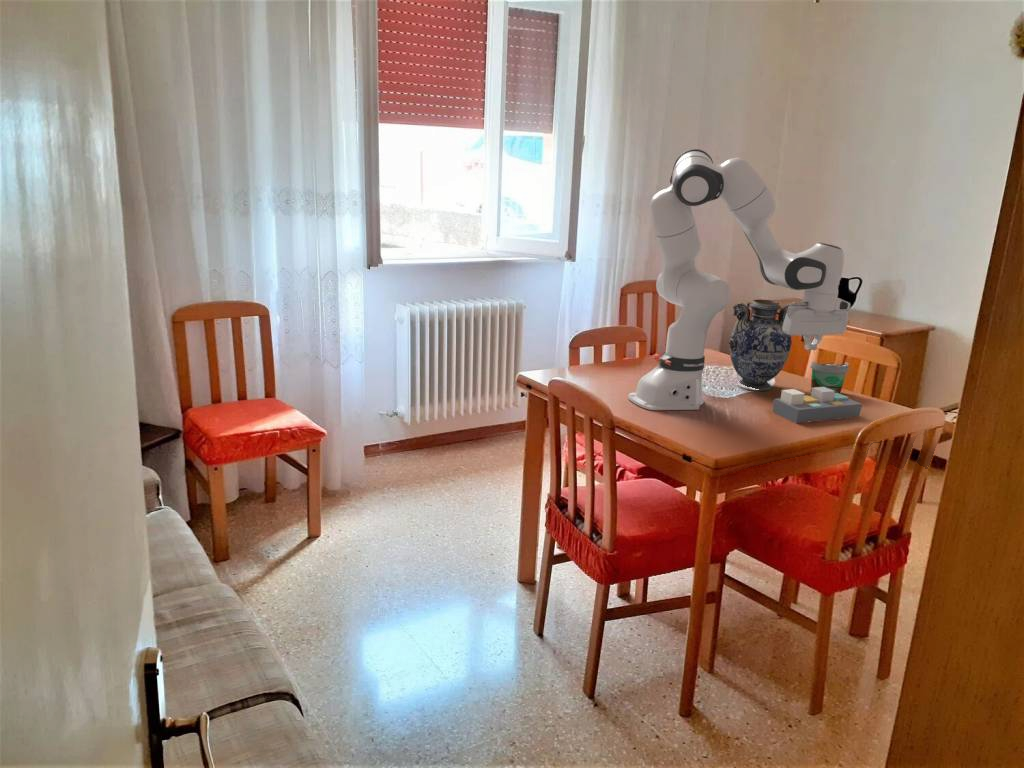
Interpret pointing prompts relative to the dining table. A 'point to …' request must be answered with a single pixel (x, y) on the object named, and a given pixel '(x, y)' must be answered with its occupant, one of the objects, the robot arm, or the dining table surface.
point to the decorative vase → (759, 343)
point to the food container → (829, 375)
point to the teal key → (839, 397)
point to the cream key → (792, 397)
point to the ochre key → (810, 400)
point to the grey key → (823, 394)
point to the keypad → (817, 410)
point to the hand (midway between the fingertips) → (810, 349)
